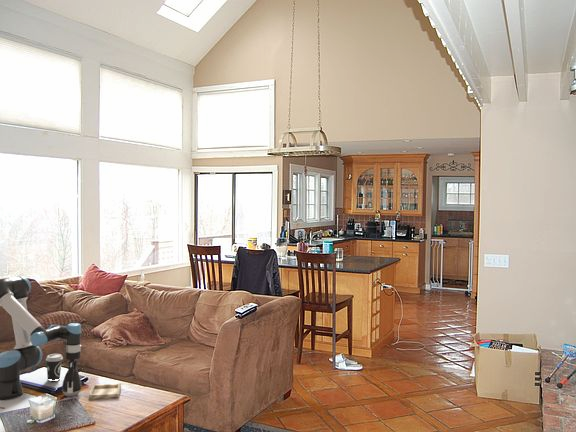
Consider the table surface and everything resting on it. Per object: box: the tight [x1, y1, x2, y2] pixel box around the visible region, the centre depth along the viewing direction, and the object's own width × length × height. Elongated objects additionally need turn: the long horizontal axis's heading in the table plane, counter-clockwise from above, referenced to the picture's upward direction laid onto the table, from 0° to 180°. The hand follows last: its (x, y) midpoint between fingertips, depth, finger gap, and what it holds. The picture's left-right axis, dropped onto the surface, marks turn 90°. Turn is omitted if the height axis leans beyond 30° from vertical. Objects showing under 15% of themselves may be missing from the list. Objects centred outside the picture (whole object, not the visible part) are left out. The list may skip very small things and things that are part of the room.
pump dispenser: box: [61, 368, 83, 398], centre depth 292 cm, size 10×10×15 cm
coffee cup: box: [45, 353, 64, 380], centre depth 313 cm, size 10×10×15 cm
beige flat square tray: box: [88, 383, 122, 401], centre depth 297 cm, size 16×16×2 cm
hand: (71, 388), depth 292 cm, fingers open, 13 cm apart
